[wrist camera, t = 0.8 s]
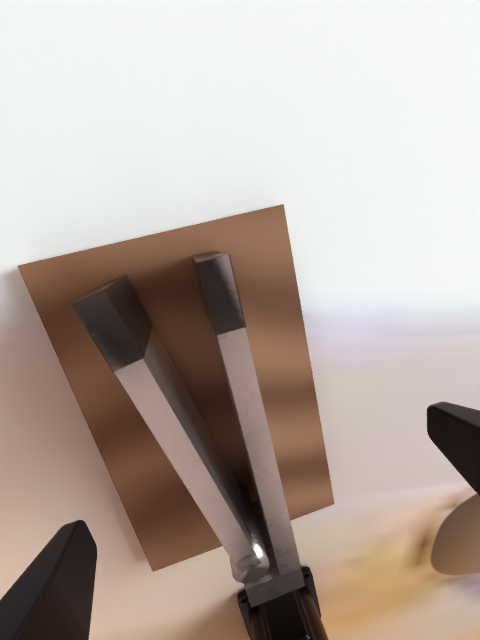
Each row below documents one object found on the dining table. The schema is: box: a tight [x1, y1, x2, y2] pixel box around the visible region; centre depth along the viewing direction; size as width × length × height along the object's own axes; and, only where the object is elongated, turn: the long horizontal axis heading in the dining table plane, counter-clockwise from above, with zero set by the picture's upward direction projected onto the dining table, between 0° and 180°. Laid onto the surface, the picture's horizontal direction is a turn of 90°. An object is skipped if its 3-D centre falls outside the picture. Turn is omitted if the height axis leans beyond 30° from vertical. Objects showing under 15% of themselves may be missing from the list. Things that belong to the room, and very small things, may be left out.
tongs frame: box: [191, 250, 305, 608], centre depth 16 cm, size 19×3×5 cm, turn 13°
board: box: [18, 204, 334, 572], centre depth 20 cm, size 22×14×1 cm, turn 13°
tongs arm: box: [70, 275, 269, 583], centre depth 16 cm, size 17×2×5 cm, turn 23°
